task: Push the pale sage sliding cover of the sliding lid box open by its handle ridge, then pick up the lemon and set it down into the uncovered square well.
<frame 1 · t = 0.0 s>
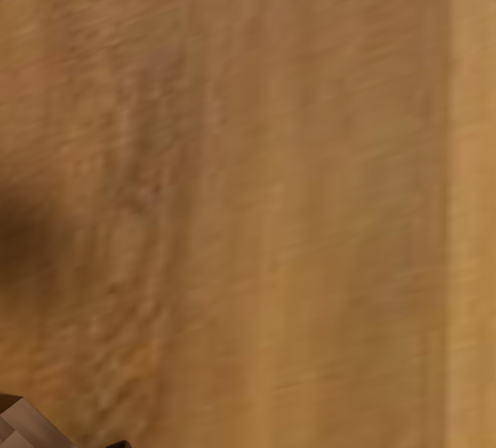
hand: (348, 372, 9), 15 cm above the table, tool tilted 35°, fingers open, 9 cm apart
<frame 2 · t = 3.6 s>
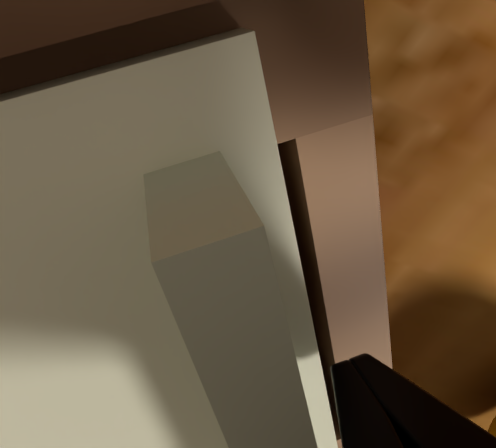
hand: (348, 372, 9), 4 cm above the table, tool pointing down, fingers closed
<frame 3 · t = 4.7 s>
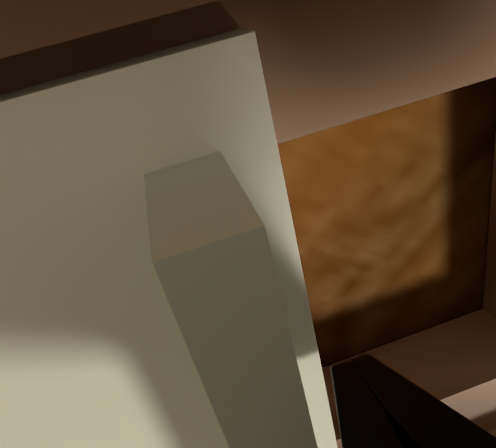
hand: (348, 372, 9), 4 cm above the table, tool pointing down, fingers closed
sliding lid box: (216, 289, 12), on the table
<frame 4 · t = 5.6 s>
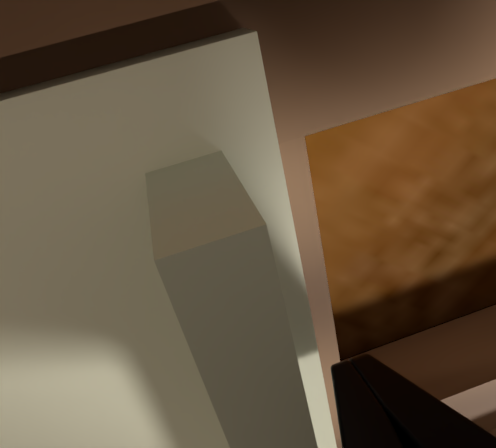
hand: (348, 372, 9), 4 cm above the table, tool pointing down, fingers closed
sliding lid box: (313, 256, 12), on the table
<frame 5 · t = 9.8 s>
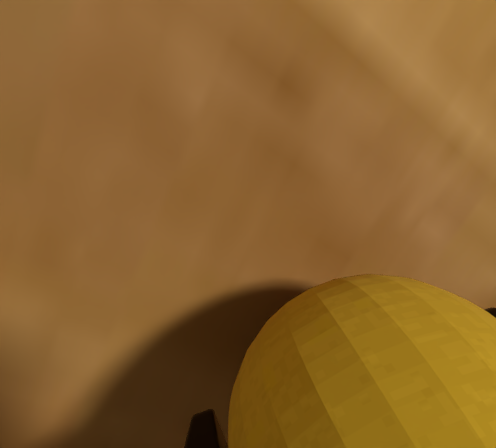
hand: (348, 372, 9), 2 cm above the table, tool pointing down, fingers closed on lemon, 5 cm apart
lemon: (308, 304, 11), on the table, touching gripper
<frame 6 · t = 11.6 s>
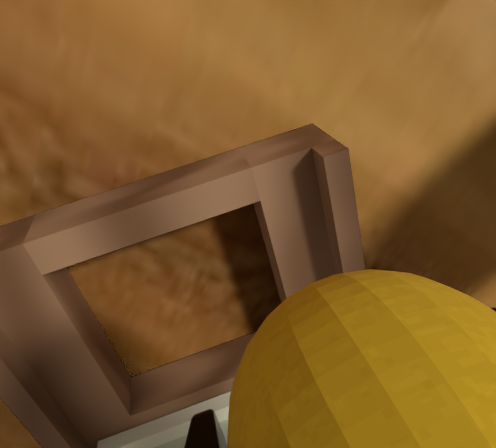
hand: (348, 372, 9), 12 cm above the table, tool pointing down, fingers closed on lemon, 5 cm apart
lemon: (308, 301, 11), point 10 cm above the table, touching gripper
sliding lid box: (206, 342, 24), on the table
when the fingers open (4 cm above the table, at t = 13.8 s): lemon drops 2 cm, resting in sliding lid box.
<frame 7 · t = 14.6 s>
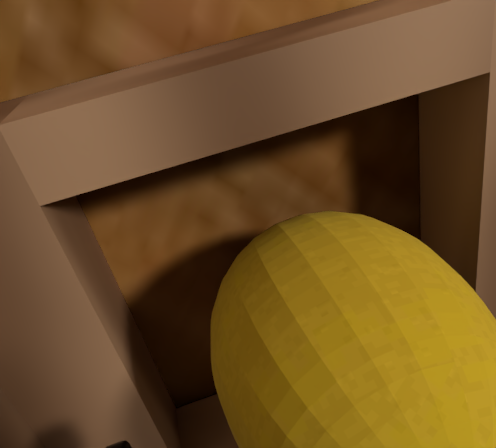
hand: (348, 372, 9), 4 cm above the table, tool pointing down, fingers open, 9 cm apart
lemon: (280, 251, 13), resting in sliding lid box
sliding lid box: (300, 352, 15), on the table
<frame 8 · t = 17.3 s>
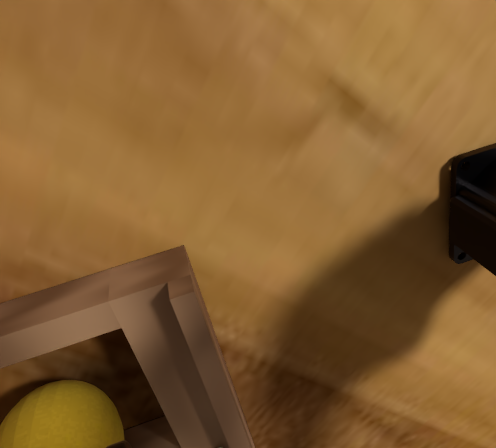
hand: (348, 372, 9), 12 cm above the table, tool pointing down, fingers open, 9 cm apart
lemon: (70, 382, 23), resting in sliding lid box
sliding lid box: (98, 433, 24), on the table
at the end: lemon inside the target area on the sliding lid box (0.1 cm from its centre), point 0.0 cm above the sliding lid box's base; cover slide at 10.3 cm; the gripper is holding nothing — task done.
